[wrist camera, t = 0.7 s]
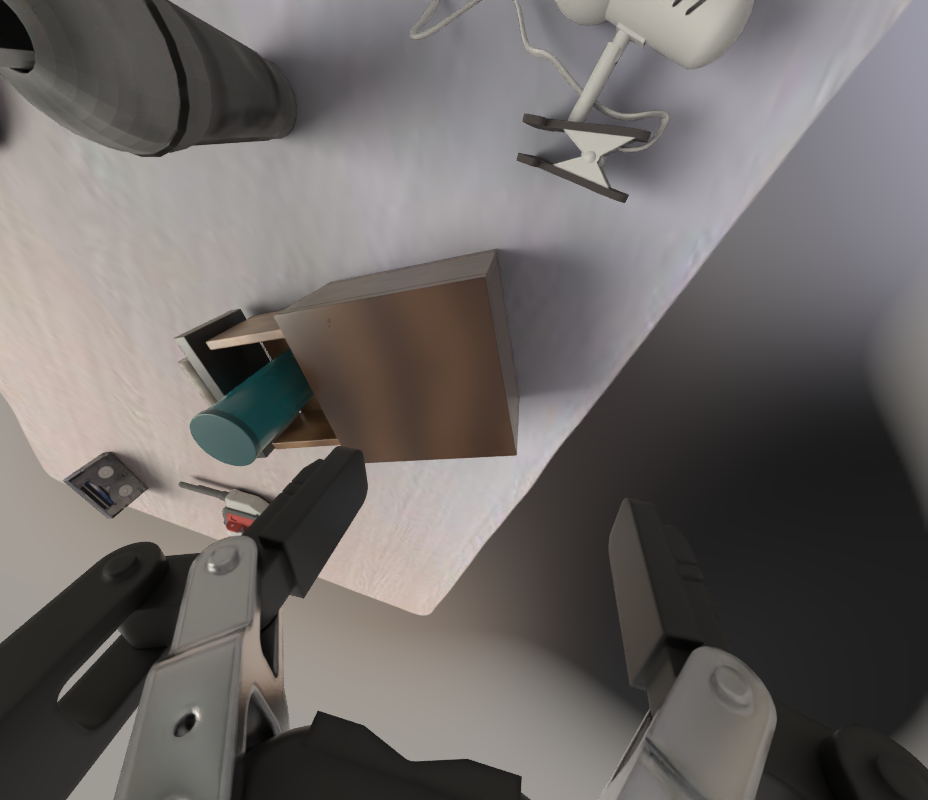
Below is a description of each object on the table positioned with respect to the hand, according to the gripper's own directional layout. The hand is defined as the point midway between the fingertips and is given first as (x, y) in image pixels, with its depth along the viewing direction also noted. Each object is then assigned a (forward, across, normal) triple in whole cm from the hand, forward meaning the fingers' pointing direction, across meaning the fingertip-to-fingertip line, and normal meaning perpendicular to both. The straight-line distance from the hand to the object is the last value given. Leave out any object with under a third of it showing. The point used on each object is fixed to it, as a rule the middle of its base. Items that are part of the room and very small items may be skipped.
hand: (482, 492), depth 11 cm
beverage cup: (+21, +21, -14) cm, 33 cm away
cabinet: (+23, +9, +5) cm, 25 cm away
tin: (+20, +22, +8) cm, 31 cm away
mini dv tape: (+22, +60, +32) cm, 72 cm away
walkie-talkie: (+24, +40, +36) cm, 59 cm away
